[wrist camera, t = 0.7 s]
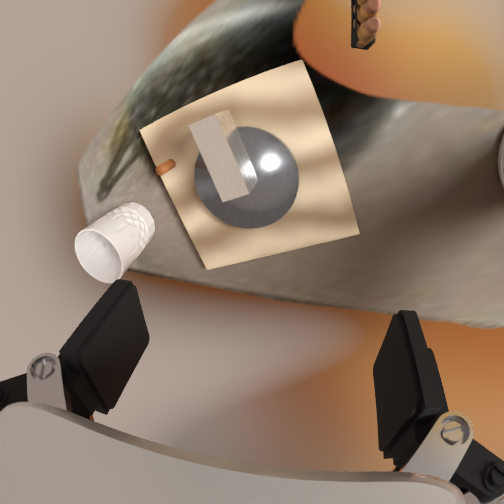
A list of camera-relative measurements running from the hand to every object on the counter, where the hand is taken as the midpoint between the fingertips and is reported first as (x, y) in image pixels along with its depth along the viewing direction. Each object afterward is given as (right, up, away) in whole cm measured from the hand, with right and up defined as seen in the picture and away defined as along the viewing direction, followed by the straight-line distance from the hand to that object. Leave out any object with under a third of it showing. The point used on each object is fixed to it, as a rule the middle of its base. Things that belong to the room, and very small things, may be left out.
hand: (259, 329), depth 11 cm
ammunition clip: (+11, +29, +13) cm, 34 cm away
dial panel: (0, +12, +26) cm, 29 cm away
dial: (-1, +12, +24) cm, 27 cm away
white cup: (-17, +7, +34) cm, 38 cm away
